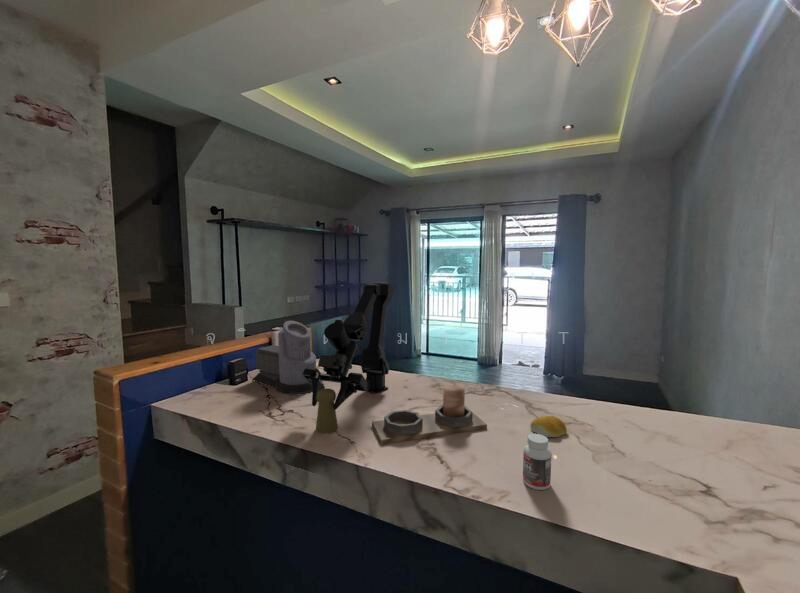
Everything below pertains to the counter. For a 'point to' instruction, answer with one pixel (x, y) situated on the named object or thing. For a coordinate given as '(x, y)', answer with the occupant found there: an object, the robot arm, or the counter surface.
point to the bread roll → (548, 426)
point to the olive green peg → (326, 412)
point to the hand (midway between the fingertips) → (323, 407)
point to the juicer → (287, 360)
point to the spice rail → (430, 420)
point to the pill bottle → (537, 462)
